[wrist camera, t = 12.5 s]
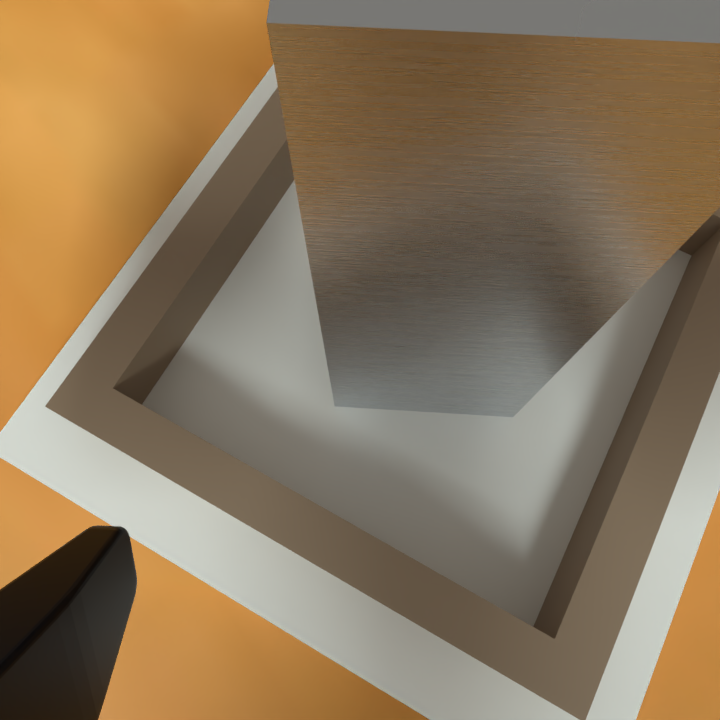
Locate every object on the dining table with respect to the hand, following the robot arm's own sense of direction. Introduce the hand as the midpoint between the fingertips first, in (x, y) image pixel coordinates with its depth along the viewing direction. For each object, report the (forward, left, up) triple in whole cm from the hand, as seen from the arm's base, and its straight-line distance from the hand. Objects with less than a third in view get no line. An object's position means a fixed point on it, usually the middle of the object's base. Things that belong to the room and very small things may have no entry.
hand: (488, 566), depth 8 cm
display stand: (+6, +3, -10) cm, 12 cm away
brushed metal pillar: (+6, +3, -9) cm, 11 cm away
